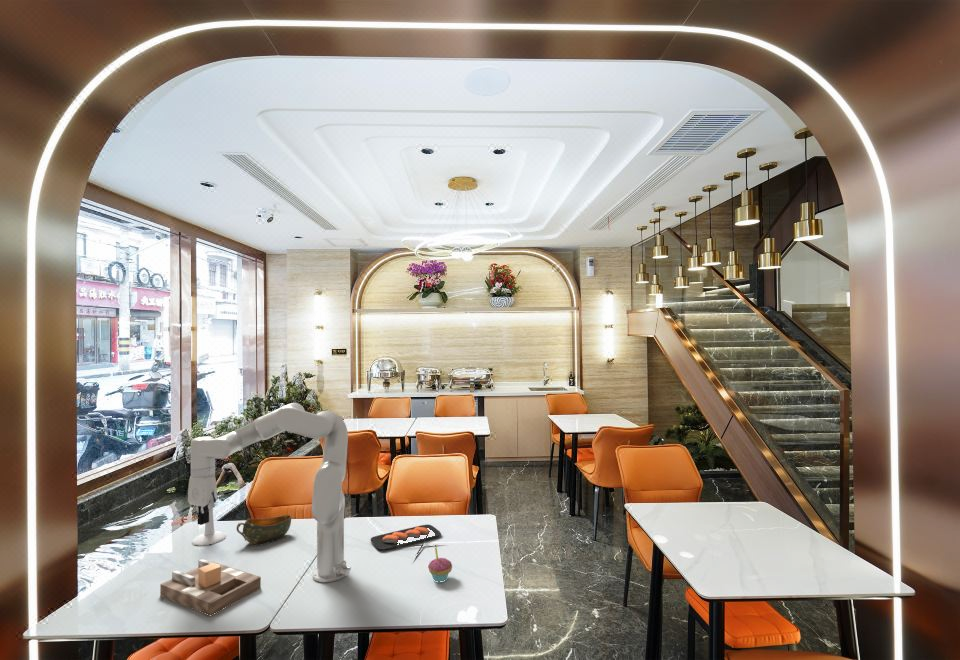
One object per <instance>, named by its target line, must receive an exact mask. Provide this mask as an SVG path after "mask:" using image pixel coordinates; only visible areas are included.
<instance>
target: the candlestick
mask: <svg viewBox="0 0 960 660" xmlns="http://www.w3.org/2000/svg"><path fill="white" fill-rule="evenodd" d="M214 521H215V520H214V508H211V509H210V511H209V522H208V523H205V524H204V532H203V533H201V534H198V535H197V536H196V537H193V539H192V541H191V543H192V545H193V544H194V545H193V546H195V545H198V546H197V547H204V546H203V545H207V546H210V545H209V544H212V545H214V544H213V543H215V544H217V543H216V542H218V543H220V542H222V541H224V540H225V539H226V538H227V534H226V533H225V532H223V531H219V530H218V531H217V530H215V524H214ZM225 537H226V538H225ZM224 538H225V539H224ZM223 539H224V540H223ZM221 540H222V541H221ZM219 541H220V542H219Z"/></svg>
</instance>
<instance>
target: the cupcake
mask: <svg viewBox="0 0 960 660" xmlns="http://www.w3.org/2000/svg"><path fill="white" fill-rule="evenodd" d="M434 545H435V547H434V550H435V559H433V560H431V561H430V562H429V564H428V567H427V568H428V571H429V573H430V574H431V576H432V580H433V579H434V580H435V581H438V582H440V581H444V580H446V579H447V580H448V576H449V574H450V573H451V571H452V569H453V564H452V561H450V560H449V559H447V558H446V557H439V554H438V548H437V547H438V546H436V545H437V544H434ZM434 580H433V581H434ZM447 580H446V581H447ZM435 581H434V582H435Z"/></svg>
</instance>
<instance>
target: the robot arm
mask: <svg viewBox="0 0 960 660" xmlns="http://www.w3.org/2000/svg"><path fill="white" fill-rule="evenodd" d="M285 431H286V432H289V433H292V434H296V435H298V436H303V437H306V438H309V439H316V440H320V439H324V445H323V454H322V462H321V465H320V467H319V468H318V470H317V472H316V473H315V476H314V481H313V490H312V499H311V500H312V501H311V514H312V517H313V519H314V520H315V521H316V544H317V545H316V568H315V569H314V570H313V572H312V579H313V580H314V581H316V582H318V581H319V582H320V583H332V582H335V581H339V580H341V579H343V578H344V577H348V576H349V574H350V571H351V570H352V567H351V566H348V565H347V560H345V507H346V498H345V494H344V491H343V490H342V488H343V481H344V480H345V478H346V474H347V460H348V457H347V456H348V445H349V443H348V441H349V433H348V428H347V424H346V422H345V421H344V420H343V418H342V417H341V416H340V415H339V414H337V413H335V412H333V411H331V410H321V411H320V412H317V413H312V412H308V411H307V410H305V408H304V406H303V405H302V404H301V403H299V402H292V403H288V404H285V405H283V406H281V407H279V408H277V409H275V410H273V411H270V412H269V413H266V414H264V415H262V416H259V417H257V418H256V419H253V421H251V422H250V423H248V424H245V425H244V426H241V427H239V428H237V429H234V430H233V431H230V432H228V433H225V434H224V435H221V436H219V437H216V438H215V437H213V436H210V435H209V436H206V435H205V436H199V437H195V438H193V439H192V440H191V442H190V476H189V480H188V488H187V489H188V491H187V503H188V504H190V505H192V506H194V507H195V510H196V513H197V525H199V526H202V525H205V523H208V522H209V511H210V509H211V508H213V509H214V508H215V504H216V502H217V501H218V500H217V499H218V490H217V489H218V485H217V479H216V459H217V460H218V459H219V460H220V459H221V460H222V459H225V458H226V459H227V458H228V457H230V456H231V455H233V454H235V453H236V452H238V451H240V450H242V449H244V448H247V447H248V446H250V445H252V444H255V443H258V442H260V441H266V440H269V439H271V438H273V437H275V436H277V435H279V434H281V433H283V432H285Z"/></svg>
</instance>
